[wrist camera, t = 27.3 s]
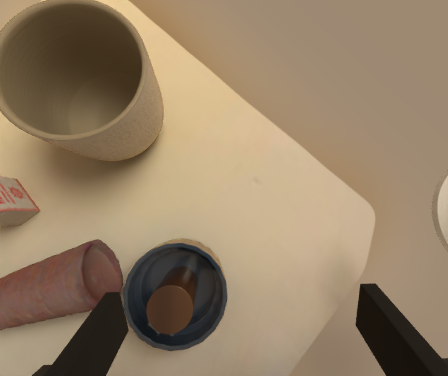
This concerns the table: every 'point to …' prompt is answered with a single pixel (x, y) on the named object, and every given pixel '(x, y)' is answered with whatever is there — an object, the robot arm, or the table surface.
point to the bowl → (154, 274)
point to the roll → (173, 301)
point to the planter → (80, 79)
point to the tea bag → (14, 203)
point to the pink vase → (59, 285)
